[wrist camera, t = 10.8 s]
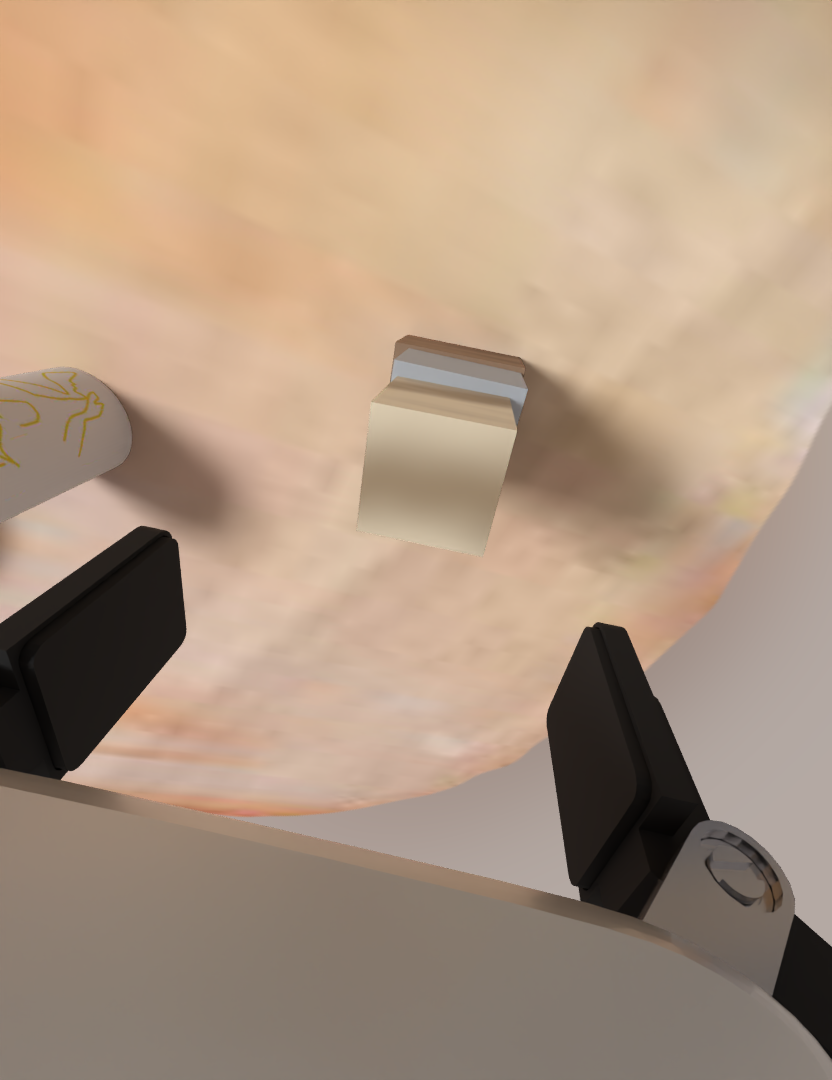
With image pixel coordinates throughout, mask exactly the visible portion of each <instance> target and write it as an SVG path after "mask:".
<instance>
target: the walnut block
mask: <svg viewBox="0 0 832 1080" xmlns="http://www.w3.org/2000/svg"><path fill="white" fill-rule="evenodd" d="M408 348H411V349H415V350H420V351H424V352H429V353H433V354H438V355H442V356H447V357H451V358H456V359H460V360H465V361H469V362H474V363H478V364H483V365H487V366H492V367H496V368H501V369H505V370H510V371H514V372H519V373H521V375H522V377H524V373H525V369H526V368H525V366H524V364H523V363H522V361H521V359H520V358H519V357H515V356H510V355H505V354H500V353H495V352H490V351H485V350H480V349H475V348H471V347H466V346H461V345H456V344H451V343H446V342H441V341H436V340H431V339H426V338H422V337H417V336H412V335H407V336H405V337H403V338H402V339H400V340H398V341H397V342H396V344H395V351H394V358H393V364H394V359H396V358H397V357H398V356H399V355H401V354H402V353H403V352H405V351H406V350H407V349H408ZM392 370H393V365H392ZM391 377H392V372H391ZM390 383H391V379H390Z"/></svg>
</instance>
